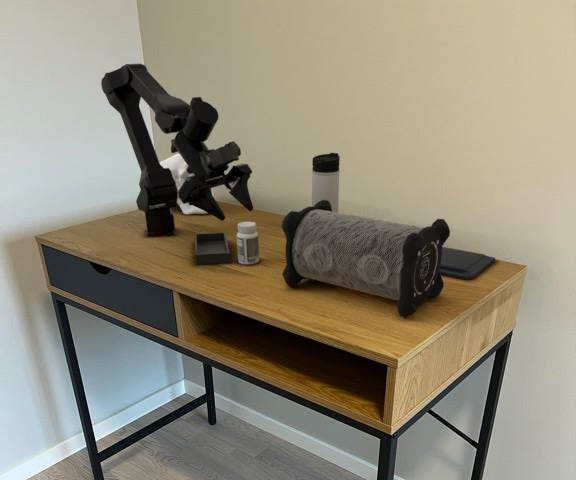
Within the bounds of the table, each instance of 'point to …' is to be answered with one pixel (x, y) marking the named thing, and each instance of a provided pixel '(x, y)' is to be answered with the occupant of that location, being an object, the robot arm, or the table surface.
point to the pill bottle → (247, 243)
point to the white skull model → (181, 181)
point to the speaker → (365, 254)
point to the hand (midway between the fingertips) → (238, 214)
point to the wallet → (463, 263)
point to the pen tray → (211, 248)
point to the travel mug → (326, 179)
